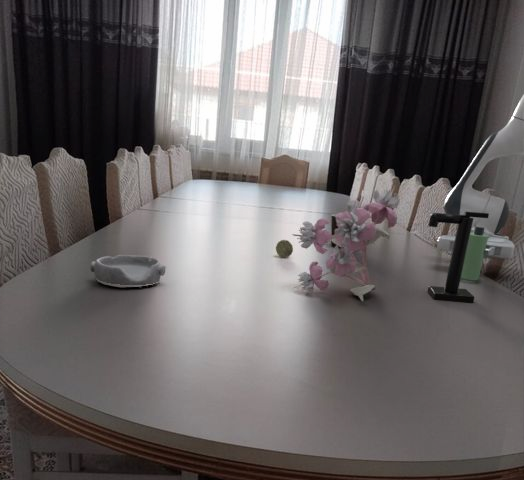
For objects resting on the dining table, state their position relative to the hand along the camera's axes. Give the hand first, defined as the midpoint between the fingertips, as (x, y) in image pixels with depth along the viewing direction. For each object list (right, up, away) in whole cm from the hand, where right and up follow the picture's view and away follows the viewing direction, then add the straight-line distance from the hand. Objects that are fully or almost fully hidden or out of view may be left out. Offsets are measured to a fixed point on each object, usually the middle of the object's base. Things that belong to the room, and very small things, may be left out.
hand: (474, 251), depth 140 cm
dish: (-88, -12, -25) cm, 92 cm away
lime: (-51, 0, +13) cm, 53 cm away
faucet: (-15, -14, -17) cm, 27 cm away
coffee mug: (-29, +8, +36) cm, 47 cm away
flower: (-41, -14, -22) cm, 49 cm away
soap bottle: (0, -7, +4) cm, 8 cm away
